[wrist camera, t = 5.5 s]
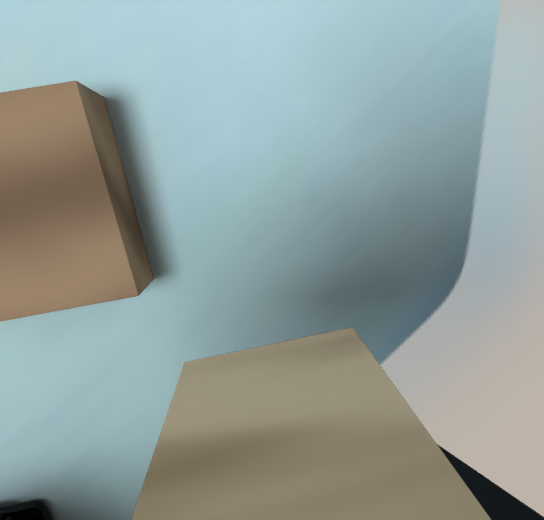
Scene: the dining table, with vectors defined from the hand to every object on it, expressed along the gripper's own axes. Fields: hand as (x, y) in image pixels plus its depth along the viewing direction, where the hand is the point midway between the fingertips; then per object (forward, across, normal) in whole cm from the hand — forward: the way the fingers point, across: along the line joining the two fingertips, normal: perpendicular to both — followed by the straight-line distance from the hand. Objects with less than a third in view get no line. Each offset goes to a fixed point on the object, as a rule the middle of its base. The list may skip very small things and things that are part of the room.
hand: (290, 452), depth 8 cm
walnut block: (+11, +10, -7) cm, 16 cm away
